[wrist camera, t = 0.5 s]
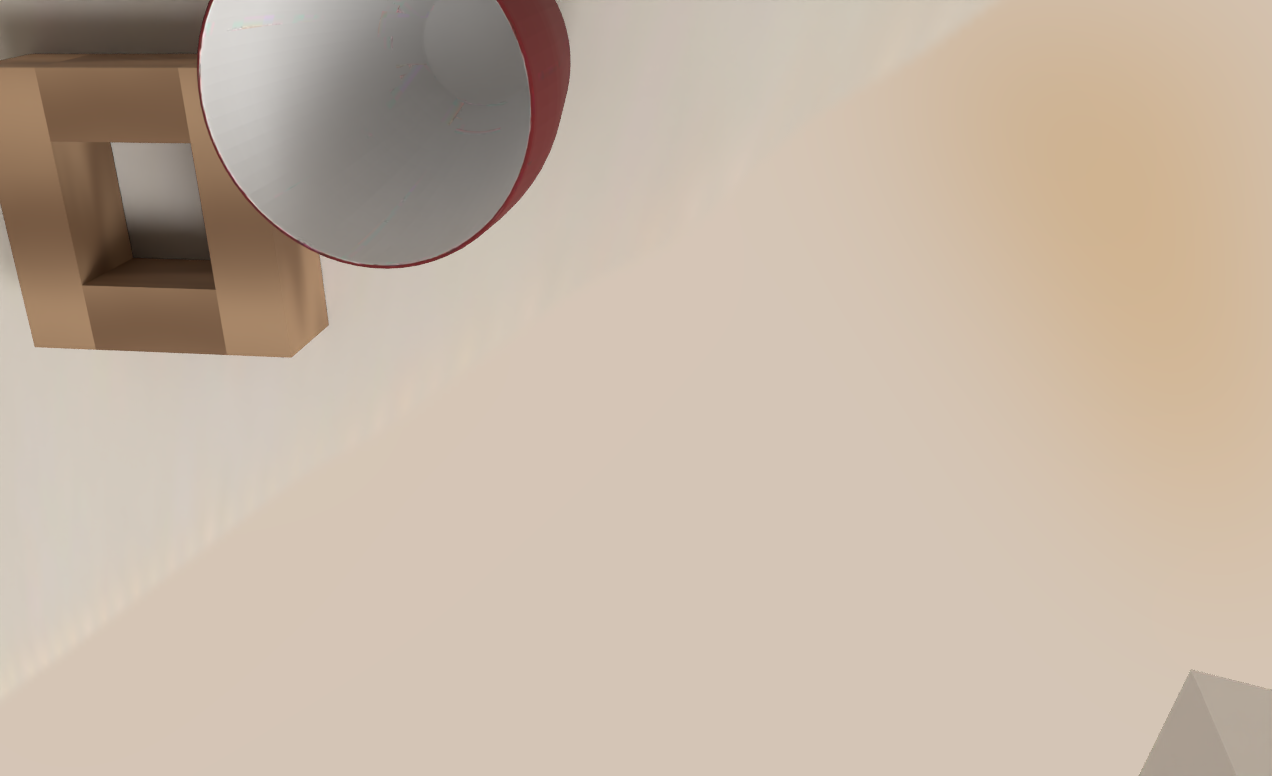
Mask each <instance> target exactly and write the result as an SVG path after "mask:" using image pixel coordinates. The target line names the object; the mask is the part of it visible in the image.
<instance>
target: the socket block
mask: <svg viewBox="0 0 1272 776" xmlns="http://www.w3.org/2000/svg"><path fill="white" fill-rule="evenodd" d="M110 142H129V143H191V148H192V154H193V159H194V165H195V171H196V177H197V183H198V189H199V195H200V200H201V206H202V212H203V218H204V224H205V230H206V235H207V241H208V247H209V253H210V259H211V260H186V259H149V258H133V255H132V250H131V245H130V240H129V235H128V230H127V225H126V220H125V215H124V210H123V205H122V200H121V195H120V190H119V185H118V180H117V175H116V169H115V164H114V159H113V154H112V149H111V144H110ZM0 204H1V208H2V212H3V216H4V220H5V224H6V229H7V233H8V237H9V241H10V245H11V249H12V254H13V258H14V262H15V266H16V270H17V275H18V279H19V283H20V287H21V291H22V295H23V300H24V304H25V308H26V312H27V316H28V320H29V325H30V329H31V333H32V337H33V341H34V346H35V347H47V348H71V349H96V350H120V351H145V352H169V353H193V354H218V355H242V356H267V357H293V356H294V355H295V354H296V353H297V352H298V351H299V350H301V349H302V348H303V347H304V346H305V345H306V344H307V343H309V342H310V341H311V340H312V339H313V338H314V337H316V336H317V335H318V334H319V333H320V332H321V331H322V330H324V329H325V328H326V327H327V326H328V325H329V324H328V317H327V309H326V302H325V294H324V287H323V279H322V272H321V264H320V257H319V254H318V253H316V252H313V251H311V250H309V249H307V248H306V247H304V246H302V245H300V244H298V243H296V242H295V241H293V240H292V239H290V238H289V237H287V236H286V235H284V234H283V233H281V232H280V231H279V230H278V229H276V228H275V227H274V226H273V225H271V224H270V223H269V222H268V221H267V220H266V219H265V218H264V217H263V216H261V215H260V214H259V213H258V212H257V211H256V210H255V209H254V207H253V206H252V205H251V204H250V203H249V202H248V201H247V200H246V199H245V197H244V196H243V195H242V193H241V192H240V191H239V190H238V188H237V187H236V186H235V184H234V183H233V181H232V180H231V178H230V176H229V175H228V173H227V172H226V170H225V168H224V167H223V165H222V163H221V161H220V159H219V157H218V155H217V153H216V151H215V149H214V146H213V144H212V142H211V139H210V137H209V134H208V131H207V128H206V125H205V121H204V117H203V113H202V109H201V105H200V99H199V92H198V82H197V54H28V55H23V56H19V57H14V58H9V59H5V60H0Z"/></svg>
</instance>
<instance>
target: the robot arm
mask: <svg viewBox="0 0 1272 776" xmlns="http://www.w3.org/2000/svg"><path fill="white" fill-rule="evenodd" d="M1139 776H1272V690H1271V689H1266V688H1262V687H1259V686H1255V685H1250V684H1247V683H1242V682H1239V681H1235V680H1231V679H1226V678H1223V677H1219V676H1215V675H1211V674H1206V673H1203V672H1199V671H1195V670H1190V672H1189V674H1188V677H1187V679H1186V681H1185V683H1184V685H1183V687H1182V689H1181V691H1180V693H1179V695H1178V697H1177V699H1176V701H1175V703H1174V705H1173V707H1172V709H1171V711H1170V713H1169V715H1168V717H1167V719H1166V721H1165V723H1164V726H1163V727H1162V729H1161V732H1160V734H1159V736H1158V738H1157V740H1156V742H1155V744H1154V746H1153V748H1152V750H1151V752H1150V754H1149V756H1148V758H1147V760H1146V762H1145V764H1144V766H1143V768H1142V770H1141V772H1140V774H1139Z"/></svg>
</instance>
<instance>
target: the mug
mask: <svg viewBox="0 0 1272 776" xmlns="http://www.w3.org/2000/svg"><path fill="white" fill-rule="evenodd" d="M569 78H570V47H569V40H568V35H567V30H566V26H565V23H564V20H563V17H562V14H561V12H560V10H559V7H558V5H557V3H556V1H555V0H210V1H209V3H208V6H207V9H206V12H205V15H204V18H203V22H202V27H201V31H200V35H199V43H198V51H197V82H198V92H199V99H200V105H201V109H202V113H203V117H204V121H205V125H206V128H207V131H208V134H209V137H210V139H211V142H212V144H213V146H214V149H215V151H216V153H217V155H218V157H219V159H220V161H221V163H222V165H223V167H224V168H225V170H226V172H227V173H228V175H229V176H230V178H231V180H232V181H233V183H234V184H235V186H236V187H237V188H238V190H239V191H240V192H241V193H242V195H243V196H244V197H245V199H246V200H247V201H248V202H249V203H250V204H251V205H252V206H253V207H254V209H255V210H256V211H257V212H258V213H259V214H260V215H261V216H263V217H264V218H265V219H266V220H267V221H268V222H269V223H270V224H271V225H273V226H274V227H275V228H276V229H278V230H279V231H280V232H281V233H283V234H284V235H286V236H287V237H289V238H290V239H292V240H293V241H295V242H296V243H298V244H300V245H302V246H304V247H306V248H307V249H309V250H311V251H313V252H316V253H318V254H320V255H322V256H325V257H327V258H330V259H333V260H336V261H339V262H343V263H347V264H351V265H355V266H362V267H369V268H386V269H389V268H404V267H410V266H417V265H421V264H425V263H429V262H432V261H435V260H438V259H440V258H443V257H445V256H448V255H450V254H452V253H454V252H456V251H458V250H460V249H462V248H463V247H465V246H466V245H468V244H469V243H471V242H473V241H474V240H475V239H477V238H478V237H479V236H480V235H482V234H483V233H484V232H485V231H486V230H488V229H489V228H490V227H491V226H492V225H494V224H495V223H496V222H497V221H498V220H500V219H501V218H502V217H503V216H504V215H505V214H506V213H507V212H508V211H509V210H510V209H511V208H512V207H513V206H514V205H515V204H516V203H517V202H518V201H519V200H520V198H521V197H522V196H523V195H524V193H525V192H526V191H527V190H528V188H529V187H530V186H531V184H532V183H533V181H534V180H535V178H536V177H537V175H538V174H539V172H540V170H541V169H542V167H543V165H544V163H545V161H546V159H547V157H548V155H549V153H550V150H551V147H552V145H553V142H554V140H555V137H556V134H557V130H558V126H559V123H560V119H561V115H562V111H563V107H564V103H565V98H566V94H567V90H568V84H569Z"/></svg>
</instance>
